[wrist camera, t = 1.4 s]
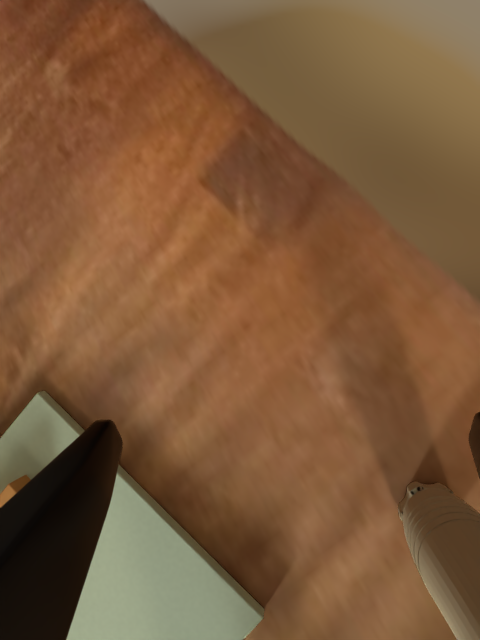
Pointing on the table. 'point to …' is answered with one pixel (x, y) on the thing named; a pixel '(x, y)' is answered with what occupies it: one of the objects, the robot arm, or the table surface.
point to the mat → (133, 552)
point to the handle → (445, 552)
